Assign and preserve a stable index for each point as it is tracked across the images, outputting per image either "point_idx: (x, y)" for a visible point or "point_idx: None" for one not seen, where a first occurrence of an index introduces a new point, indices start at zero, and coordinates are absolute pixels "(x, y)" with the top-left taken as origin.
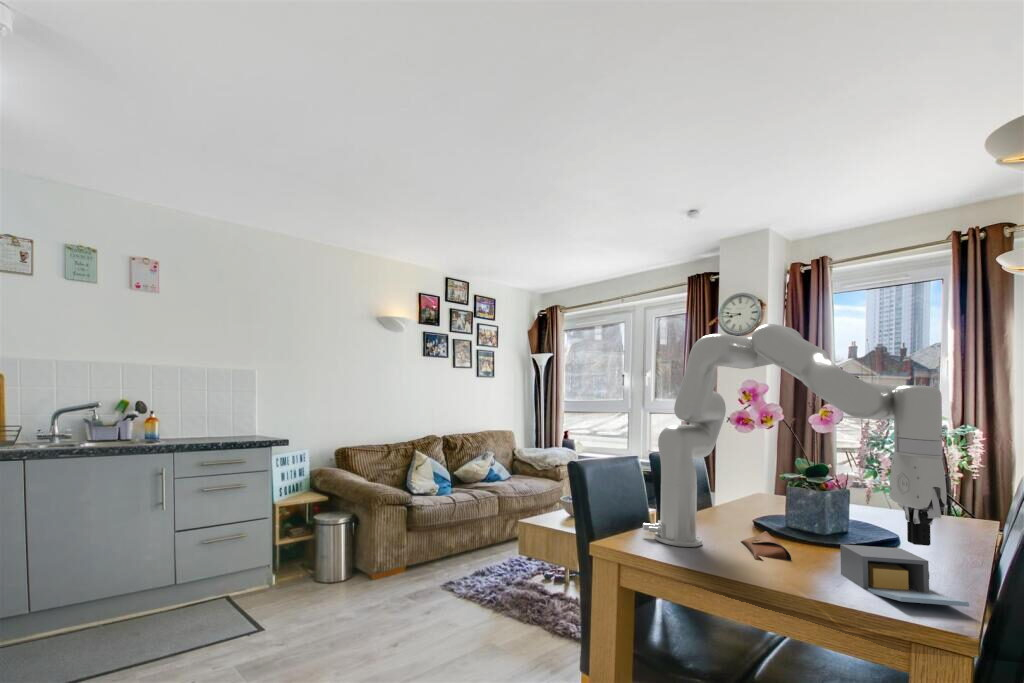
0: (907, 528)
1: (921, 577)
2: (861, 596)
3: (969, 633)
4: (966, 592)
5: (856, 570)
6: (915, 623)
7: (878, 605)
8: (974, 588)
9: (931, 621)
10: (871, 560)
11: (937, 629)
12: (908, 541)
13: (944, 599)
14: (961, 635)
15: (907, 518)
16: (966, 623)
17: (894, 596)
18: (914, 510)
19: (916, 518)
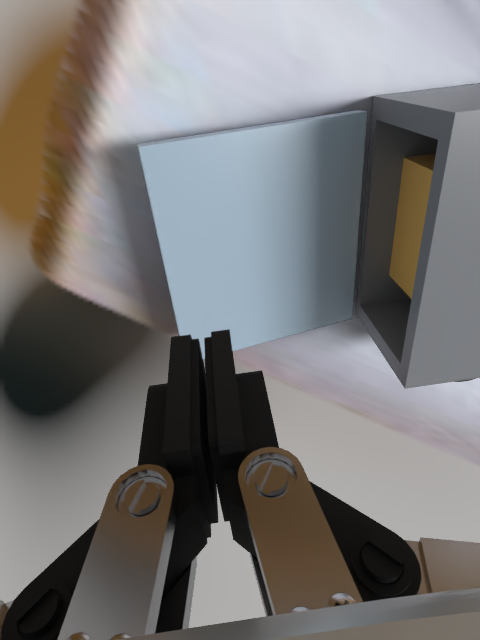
0: (236, 391)
1: (391, 331)
2: (326, 61)
3: (77, 287)
4: (411, 414)
5: (463, 95)
6: (83, 153)
7: (234, 91)
8: (440, 440)
9: (133, 222)
10: (436, 161)
11: (59, 206)
12: (221, 330)
13: (196, 310)
14: (44, 257)
15: (278, 468)
16: (164, 316)
17: (180, 139)
18: (142, 611)
19: (115, 522)
